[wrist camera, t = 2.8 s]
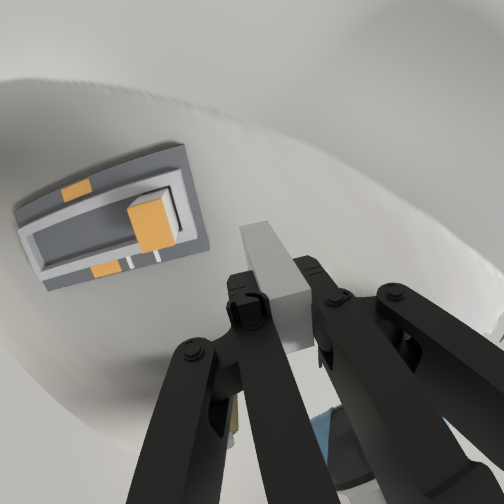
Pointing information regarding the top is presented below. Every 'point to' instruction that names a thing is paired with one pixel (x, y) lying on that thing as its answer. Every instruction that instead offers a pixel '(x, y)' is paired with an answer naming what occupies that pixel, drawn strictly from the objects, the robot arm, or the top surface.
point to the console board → (108, 221)
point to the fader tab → (154, 220)
